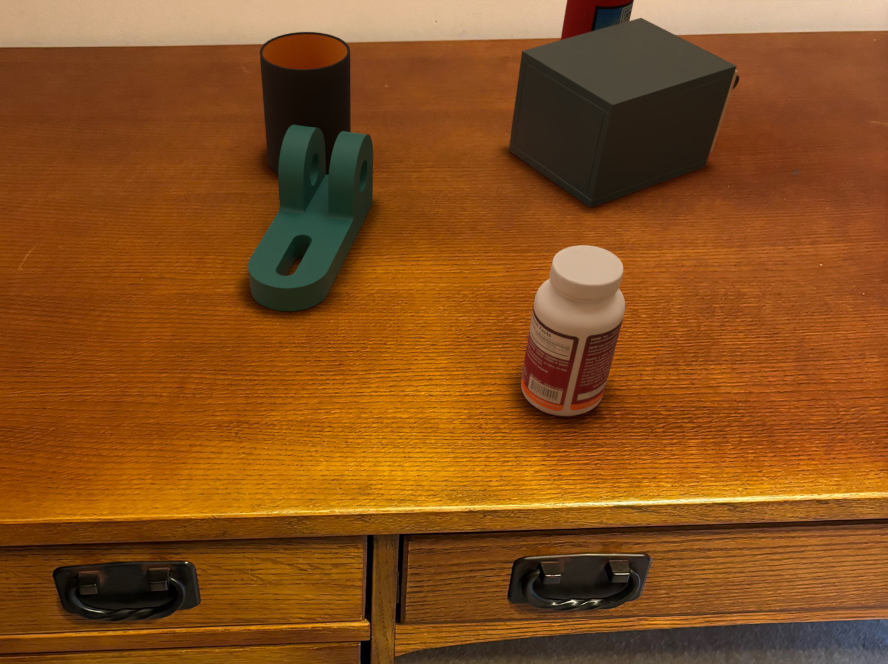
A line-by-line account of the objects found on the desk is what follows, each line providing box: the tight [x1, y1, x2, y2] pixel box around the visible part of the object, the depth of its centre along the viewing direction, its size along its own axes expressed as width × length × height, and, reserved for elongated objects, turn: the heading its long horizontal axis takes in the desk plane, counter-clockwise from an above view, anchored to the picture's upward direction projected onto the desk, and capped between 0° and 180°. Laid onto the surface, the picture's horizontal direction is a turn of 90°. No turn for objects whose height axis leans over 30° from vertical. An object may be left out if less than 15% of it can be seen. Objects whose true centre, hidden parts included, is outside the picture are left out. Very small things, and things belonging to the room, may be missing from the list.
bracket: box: [247, 125, 374, 312], centre depth 78 cm, size 18×7×8 cm, turn 164°
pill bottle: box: [520, 244, 626, 417], centre depth 64 cm, size 6×6×11 cm
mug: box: [259, 31, 352, 175], centre depth 88 cm, size 8×12×10 cm
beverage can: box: [560, 0, 635, 40], centre depth 97 cm, size 7×7×12 cm
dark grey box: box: [508, 17, 737, 209], centre depth 87 cm, size 15×13×10 cm
